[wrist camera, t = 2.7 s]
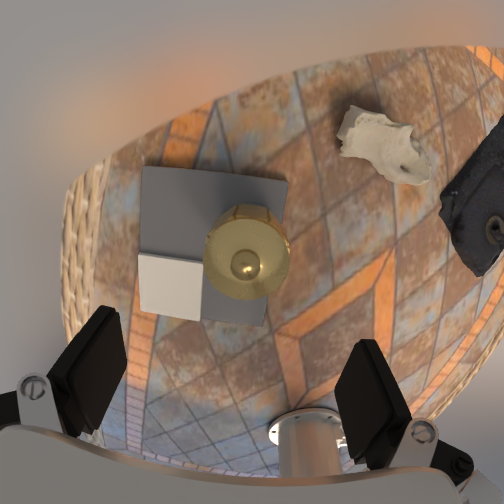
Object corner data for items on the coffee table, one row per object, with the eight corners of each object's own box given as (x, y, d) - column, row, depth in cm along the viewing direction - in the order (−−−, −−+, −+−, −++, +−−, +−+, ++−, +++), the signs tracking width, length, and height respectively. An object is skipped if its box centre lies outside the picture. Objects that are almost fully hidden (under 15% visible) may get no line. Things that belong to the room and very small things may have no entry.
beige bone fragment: (411, 191, 26) (433, 199, 22) (326, 156, 25) (339, 158, 21) (425, 144, 24) (449, 146, 20) (341, 104, 23) (357, 97, 19)
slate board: (287, 181, 26) (288, 182, 25) (262, 321, 32) (262, 326, 31) (146, 165, 26) (142, 166, 25) (145, 303, 31) (142, 308, 30)
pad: (204, 261, 28) (203, 264, 28) (200, 318, 31) (199, 321, 30) (140, 252, 28) (137, 254, 27) (142, 308, 30) (140, 310, 30)
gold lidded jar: (288, 210, 23) (298, 230, 18) (276, 275, 25) (281, 310, 20) (216, 200, 23) (204, 217, 17) (210, 266, 25) (198, 299, 20)
